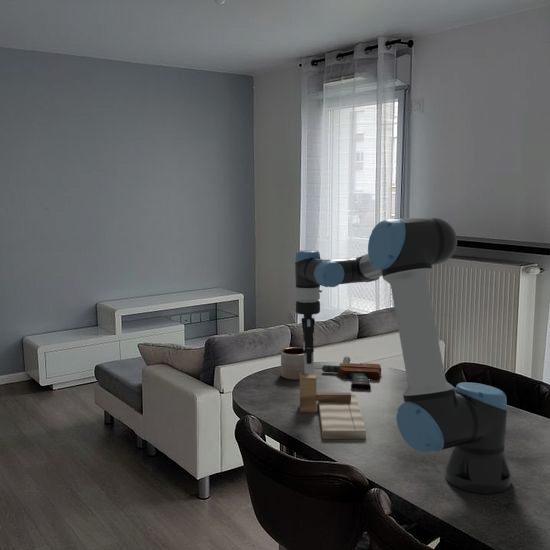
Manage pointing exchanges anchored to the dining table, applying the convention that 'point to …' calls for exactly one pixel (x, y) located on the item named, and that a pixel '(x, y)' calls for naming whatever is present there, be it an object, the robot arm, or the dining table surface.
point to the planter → (292, 363)
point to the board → (341, 419)
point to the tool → (356, 372)
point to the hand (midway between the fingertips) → (308, 367)
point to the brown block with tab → (310, 395)
